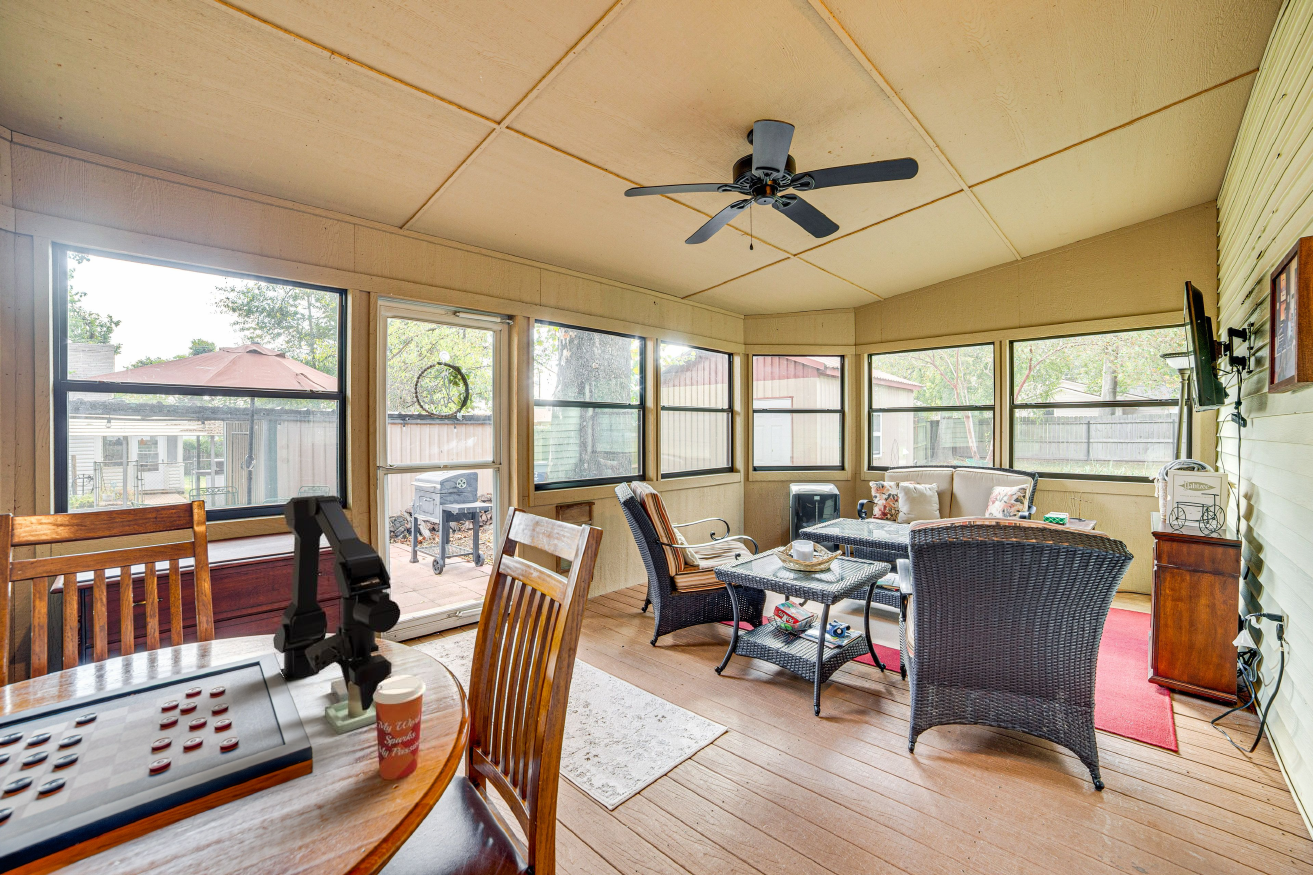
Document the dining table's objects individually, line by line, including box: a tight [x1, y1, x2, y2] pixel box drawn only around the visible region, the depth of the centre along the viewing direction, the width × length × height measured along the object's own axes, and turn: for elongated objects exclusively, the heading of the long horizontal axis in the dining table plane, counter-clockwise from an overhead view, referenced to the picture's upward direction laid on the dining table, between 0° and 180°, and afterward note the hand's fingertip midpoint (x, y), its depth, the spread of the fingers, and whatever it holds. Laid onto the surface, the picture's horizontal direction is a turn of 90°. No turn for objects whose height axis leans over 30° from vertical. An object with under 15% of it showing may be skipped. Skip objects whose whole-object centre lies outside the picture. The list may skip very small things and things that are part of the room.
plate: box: [330, 678, 348, 704], centre depth 116 cm, size 7×7×2 cm
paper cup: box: [373, 674, 427, 781], centre depth 91 cm, size 8×8×14 cm
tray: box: [324, 700, 376, 735], centre depth 107 cm, size 9×9×2 cm
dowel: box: [348, 681, 367, 718], centre depth 107 cm, size 3×3×6 cm
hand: (357, 700), depth 107 cm, fingers open, 9 cm apart
